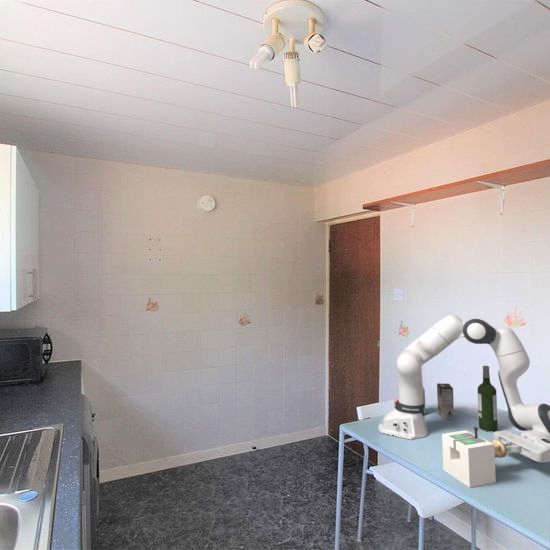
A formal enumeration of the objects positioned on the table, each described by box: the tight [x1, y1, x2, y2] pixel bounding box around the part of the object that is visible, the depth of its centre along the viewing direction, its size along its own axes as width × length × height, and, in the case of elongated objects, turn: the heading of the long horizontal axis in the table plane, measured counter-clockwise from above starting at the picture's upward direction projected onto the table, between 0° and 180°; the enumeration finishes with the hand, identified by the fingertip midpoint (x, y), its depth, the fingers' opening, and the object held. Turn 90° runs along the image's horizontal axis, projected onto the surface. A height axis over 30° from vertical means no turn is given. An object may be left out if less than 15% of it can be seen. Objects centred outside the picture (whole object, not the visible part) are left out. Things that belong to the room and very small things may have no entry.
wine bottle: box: [477, 365, 499, 432], centre depth 176 cm, size 8×8×30 cm
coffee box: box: [436, 382, 455, 420], centre depth 194 cm, size 9×6×16 cm
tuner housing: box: [441, 430, 497, 489], centre depth 134 cm, size 11×13×14 cm
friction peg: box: [473, 426, 508, 459], centre depth 136 cm, size 12×6×12 cm, turn 105°
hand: (503, 447), depth 138 cm, fingers closed
